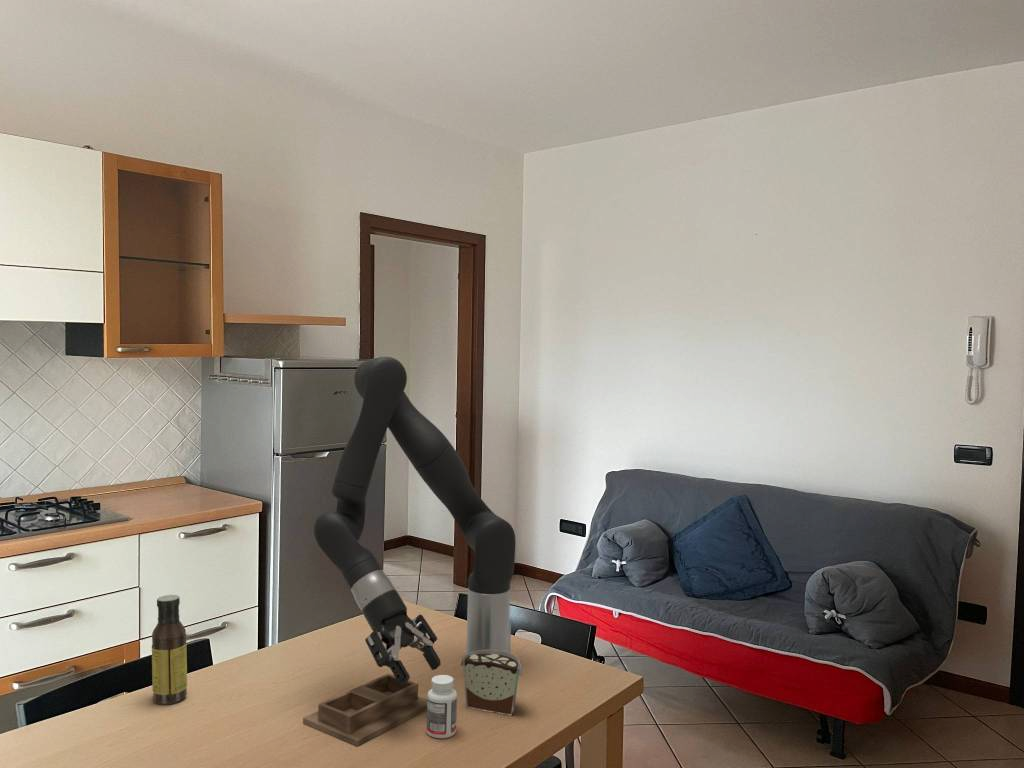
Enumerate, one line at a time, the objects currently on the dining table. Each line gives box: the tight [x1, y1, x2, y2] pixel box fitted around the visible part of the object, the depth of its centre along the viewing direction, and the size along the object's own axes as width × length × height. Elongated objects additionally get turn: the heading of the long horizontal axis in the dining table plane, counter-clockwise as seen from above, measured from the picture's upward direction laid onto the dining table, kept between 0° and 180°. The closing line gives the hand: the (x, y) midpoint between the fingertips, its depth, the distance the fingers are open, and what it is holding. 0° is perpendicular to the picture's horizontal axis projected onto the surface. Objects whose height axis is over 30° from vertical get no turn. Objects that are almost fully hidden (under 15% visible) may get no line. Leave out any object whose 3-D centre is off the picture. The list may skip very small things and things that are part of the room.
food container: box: [460, 650, 523, 716], centre depth 157 cm, size 12×6×10 cm, turn 71°
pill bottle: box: [426, 674, 458, 739], centre depth 145 cm, size 5×5×10 cm
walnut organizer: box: [302, 673, 427, 747], centre depth 151 cm, size 20×14×4 cm
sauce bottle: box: [151, 594, 188, 706], centre depth 155 cm, size 6×6×20 cm
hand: (422, 674), depth 148 cm, fingers open, 8 cm apart
